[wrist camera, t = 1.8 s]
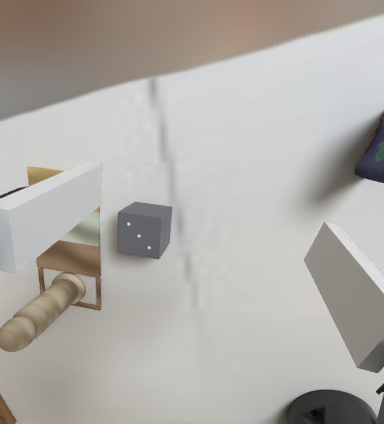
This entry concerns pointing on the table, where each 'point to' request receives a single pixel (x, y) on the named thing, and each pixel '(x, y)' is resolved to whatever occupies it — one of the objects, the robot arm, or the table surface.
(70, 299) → the pawn
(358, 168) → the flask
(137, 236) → the die
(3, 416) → the gingerbread man figurine
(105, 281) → the table surface
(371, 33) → the table surface
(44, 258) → the board
